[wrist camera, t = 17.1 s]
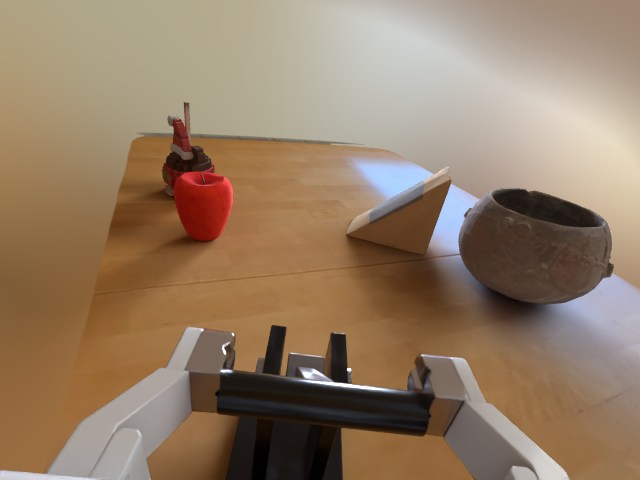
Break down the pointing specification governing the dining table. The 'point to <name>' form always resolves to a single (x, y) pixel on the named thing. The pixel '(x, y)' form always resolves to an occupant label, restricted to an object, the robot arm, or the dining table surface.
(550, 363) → the dining table surface
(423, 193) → the sandwich container
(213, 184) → the apple
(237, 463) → the bracket
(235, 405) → the lever
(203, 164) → the cake
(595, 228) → the clay pot
